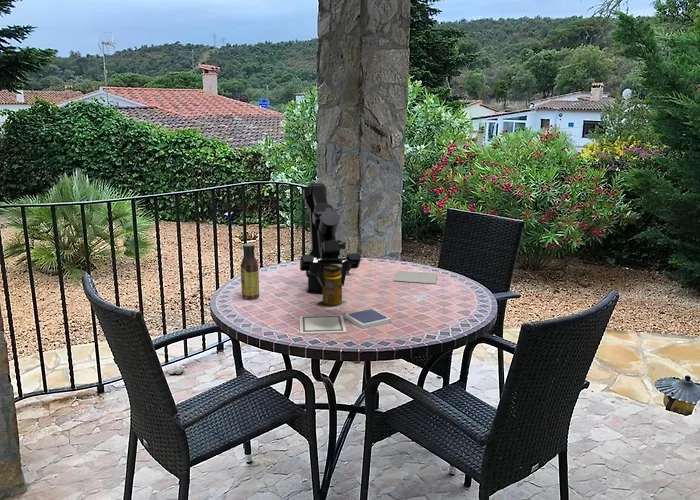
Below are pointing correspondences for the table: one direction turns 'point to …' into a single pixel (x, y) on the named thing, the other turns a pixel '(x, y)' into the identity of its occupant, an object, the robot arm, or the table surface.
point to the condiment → (331, 288)
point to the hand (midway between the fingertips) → (333, 285)
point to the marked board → (322, 324)
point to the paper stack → (416, 277)
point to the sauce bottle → (249, 273)
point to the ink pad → (367, 318)
